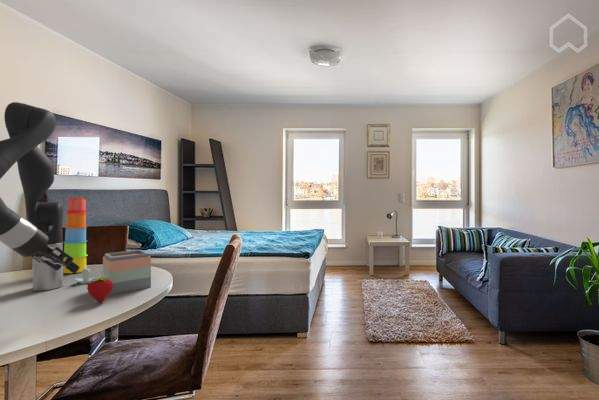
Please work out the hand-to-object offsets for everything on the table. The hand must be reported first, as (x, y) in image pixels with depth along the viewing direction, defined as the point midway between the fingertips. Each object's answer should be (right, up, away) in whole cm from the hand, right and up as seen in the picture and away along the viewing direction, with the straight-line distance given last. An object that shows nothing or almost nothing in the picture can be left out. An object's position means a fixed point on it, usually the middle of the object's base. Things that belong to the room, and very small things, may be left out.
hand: (68, 269), depth 96 cm
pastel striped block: (+4, -13, +26) cm, 30 cm away
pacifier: (-17, -13, +33) cm, 39 cm away
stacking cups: (-35, -13, +51) cm, 63 cm away
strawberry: (+4, -13, +9) cm, 17 cm away
